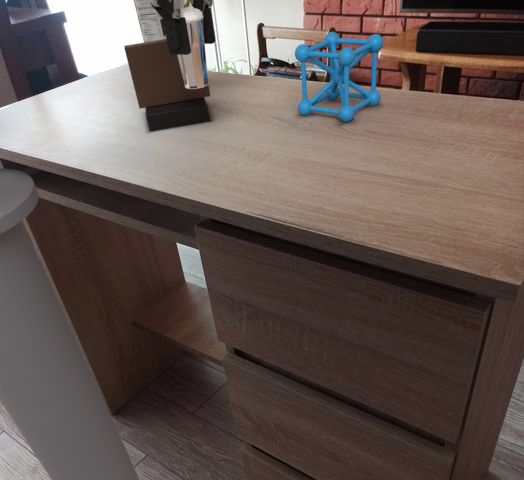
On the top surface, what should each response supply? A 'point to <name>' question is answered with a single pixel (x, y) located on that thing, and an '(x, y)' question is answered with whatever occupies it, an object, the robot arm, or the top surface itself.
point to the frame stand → (177, 114)
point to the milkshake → (194, 50)
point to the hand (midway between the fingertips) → (192, 46)
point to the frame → (158, 75)
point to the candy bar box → (150, 21)
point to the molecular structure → (339, 74)
